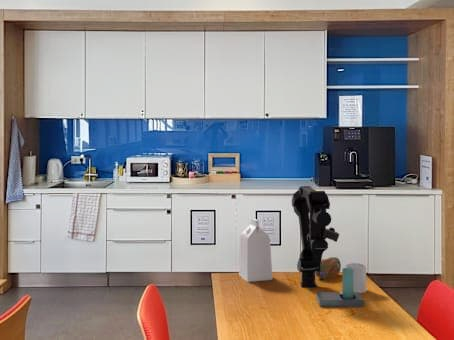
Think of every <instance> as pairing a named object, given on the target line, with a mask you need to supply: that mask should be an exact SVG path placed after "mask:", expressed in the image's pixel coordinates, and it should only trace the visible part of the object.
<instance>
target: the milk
mask: <svg viewBox="0 0 454 340" xmlns="http://www.w3.org/2000/svg"><path fill="white" fill-rule="evenodd" d="M271 249H272V247H271V238H270V236H269V234H267V233H266V232H265V231H264V230H263V229H262V228H261V227H260V222H259V219H256V218H250V224H249V225H248V226H247V227H246V228H245V229H244V230H243V231H242V232H241V233H240V237H239V260H238V263H239V264H238V265H239V266H238V267H239V269H238V276H239V277H240V276H241V277H240V278H242V279H243V280H244V281H245V282H248V283H251V282H259V281H260V282H261V281H272V280H273V268H272V267H273V265H272V252H271V251H272V250H271Z"/></svg>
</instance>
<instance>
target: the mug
mask: <svg viewBox="0 0 454 340" xmlns="http://www.w3.org/2000/svg"><path fill="white" fill-rule="evenodd" d="M345 268H352V269H353V292H359V294H364V293H366V292H367V265H366V264H364V263H359V262H356V263H355V262H350V263H346V264H345Z"/></svg>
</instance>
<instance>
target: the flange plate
mask: <svg viewBox="0 0 454 340" xmlns="http://www.w3.org/2000/svg"><path fill="white" fill-rule="evenodd" d="M316 301H317V303H318V305H319V308H322V307H323V308H325V307H326V308H327V307H328V308H329V307H330V308H331V307H335V308H336V307H341V308H342V307H350V308H352V307H354V308H355V307H360V308H361V307H362V308H363V307H364V305H365V303H364V301H365V299H363V297H362V295H361V293H359V292H353V299H343V291H342V292H341V291H340V292H330V291H329V292H316Z"/></svg>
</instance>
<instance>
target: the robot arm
mask: <svg viewBox="0 0 454 340" xmlns="http://www.w3.org/2000/svg"><path fill="white" fill-rule="evenodd" d="M291 205H292V207H293V212H294V214H296V216H297V217H298V222H299V231H300V239H301V248H302V249H301V251H300V254H299V258H298V261H297V264H296V266H297V267H296V268H297V271H298V272H299V273H301V281H300V282H299V284H300V287H302V288H311V287H312V288H315V287H316V288H317V287H318V284H317V282H316V271H320V264H321V260H322V258H323V254H324V252H325V251H327V250H328V248H329V242H328V241H327V239H328V240H330V241H333V242H336V243H337V242H338V239H339V237H340V233H339V232H337V231H336V230H335V229H336V228H334V227H329V228H327V227H328V226H330V224H331V222H332V215H331V214H330V213H329V212H327V210H330V208H331V207H330V206H331V203H330V200H329V196H328V194H327V193H326V191H325V190H316V189H314V188H313V187H312V186H310V185H304V186H303V185H301V186H298V189H297V191H296V192H294V193H293V194H292V198H291Z"/></svg>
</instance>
